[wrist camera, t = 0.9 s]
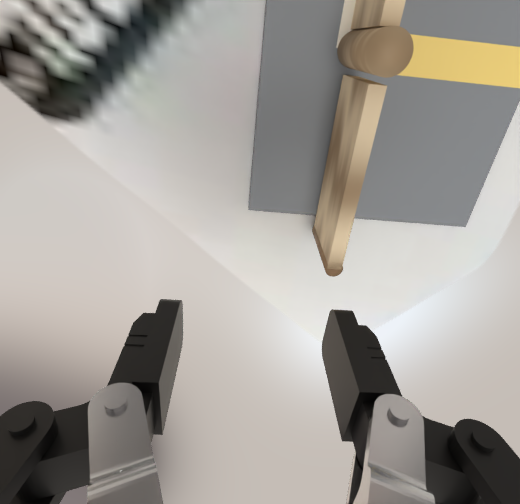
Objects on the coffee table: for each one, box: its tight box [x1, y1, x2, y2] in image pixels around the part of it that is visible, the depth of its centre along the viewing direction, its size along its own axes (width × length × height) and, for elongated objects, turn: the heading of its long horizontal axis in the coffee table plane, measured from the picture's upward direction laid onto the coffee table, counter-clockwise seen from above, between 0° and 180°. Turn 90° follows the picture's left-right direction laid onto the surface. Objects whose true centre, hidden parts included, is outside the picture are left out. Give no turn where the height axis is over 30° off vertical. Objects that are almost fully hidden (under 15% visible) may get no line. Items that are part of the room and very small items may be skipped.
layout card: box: [249, 0, 520, 227], centre depth 23 cm, size 28×18×1 cm, turn 175°
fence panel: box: [312, 75, 387, 276], centre depth 24 cm, size 12×1×6 cm, turn 175°
